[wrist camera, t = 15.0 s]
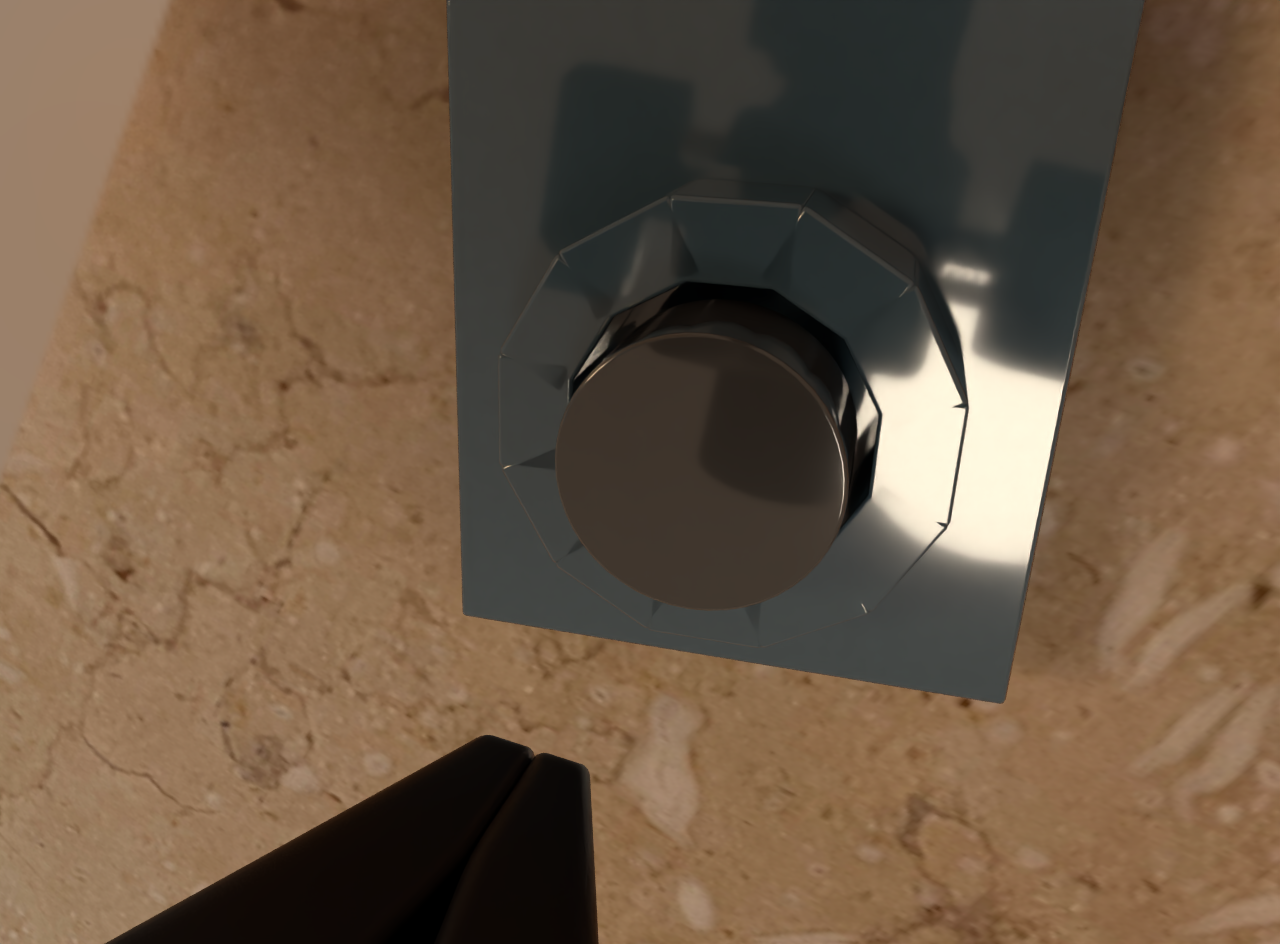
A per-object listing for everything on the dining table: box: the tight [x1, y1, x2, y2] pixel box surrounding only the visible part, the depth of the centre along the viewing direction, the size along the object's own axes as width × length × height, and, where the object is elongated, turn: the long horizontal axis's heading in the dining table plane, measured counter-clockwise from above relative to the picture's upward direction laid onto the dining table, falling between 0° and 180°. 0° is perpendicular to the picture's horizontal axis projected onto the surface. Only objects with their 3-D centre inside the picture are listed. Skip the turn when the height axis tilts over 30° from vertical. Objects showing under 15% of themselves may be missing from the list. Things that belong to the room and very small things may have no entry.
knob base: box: [446, 0, 1146, 704], centre depth 17 cm, size 12×10×4 cm
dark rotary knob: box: [555, 299, 858, 611], centre depth 15 cm, size 4×4×2 cm
